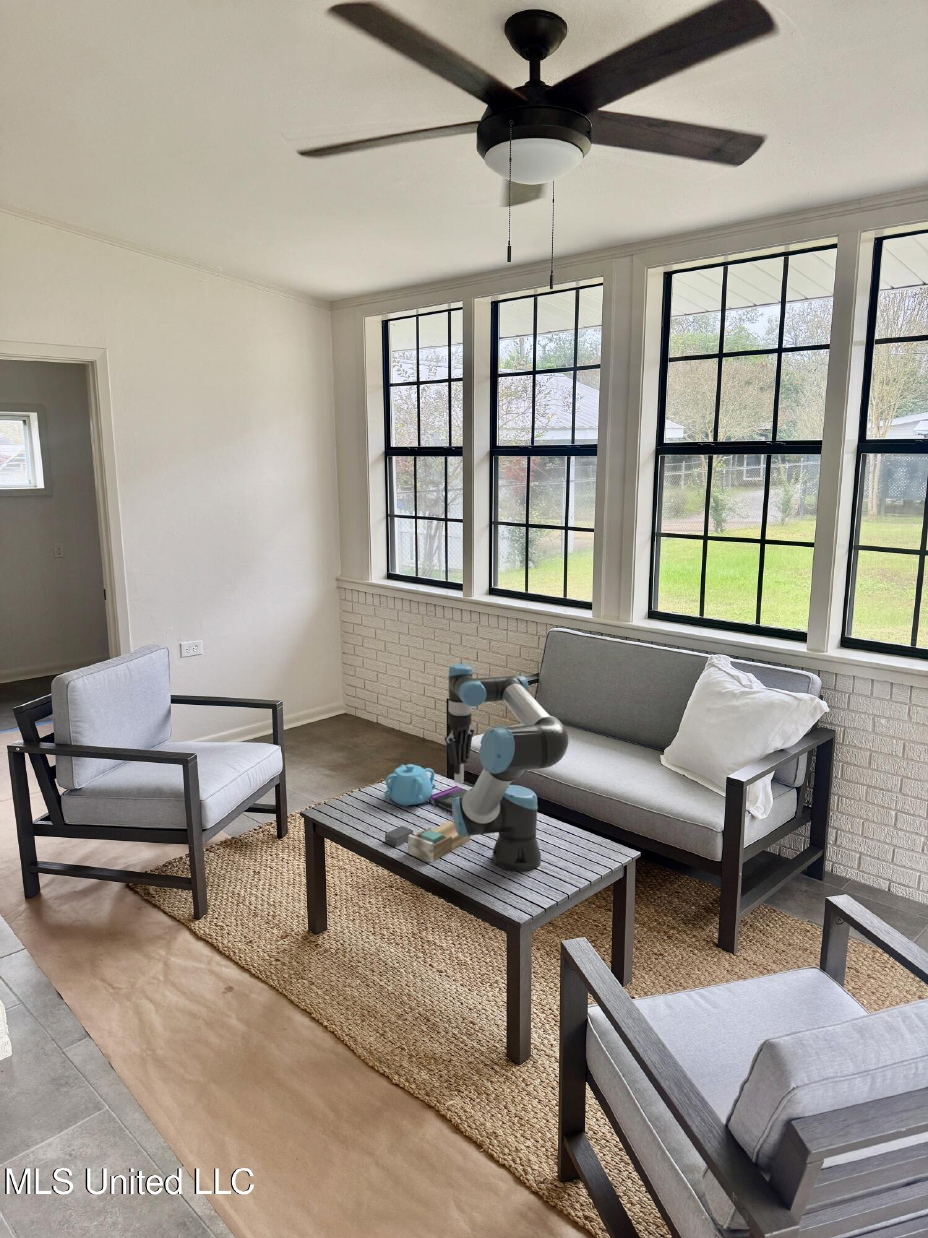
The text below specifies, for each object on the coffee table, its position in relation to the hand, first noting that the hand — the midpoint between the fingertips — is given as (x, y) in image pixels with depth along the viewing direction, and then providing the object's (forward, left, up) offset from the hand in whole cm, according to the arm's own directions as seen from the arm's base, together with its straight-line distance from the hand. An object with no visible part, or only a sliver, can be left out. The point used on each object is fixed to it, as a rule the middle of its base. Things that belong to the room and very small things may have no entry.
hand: (458, 782), depth 264 cm
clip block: (+1, +10, -17) cm, 20 cm away
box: (+16, -21, -20) cm, 33 cm away
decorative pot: (+33, -12, -20) cm, 40 cm away
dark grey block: (+13, +14, -19) cm, 27 cm away
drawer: (0, +9, -19) cm, 21 cm away
